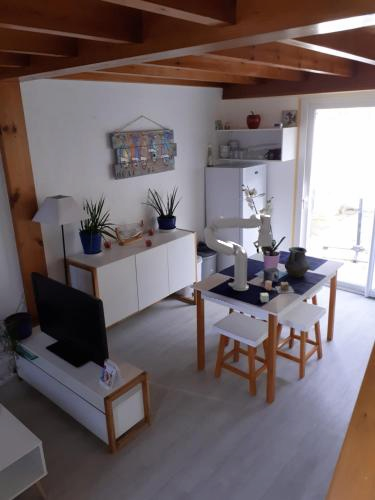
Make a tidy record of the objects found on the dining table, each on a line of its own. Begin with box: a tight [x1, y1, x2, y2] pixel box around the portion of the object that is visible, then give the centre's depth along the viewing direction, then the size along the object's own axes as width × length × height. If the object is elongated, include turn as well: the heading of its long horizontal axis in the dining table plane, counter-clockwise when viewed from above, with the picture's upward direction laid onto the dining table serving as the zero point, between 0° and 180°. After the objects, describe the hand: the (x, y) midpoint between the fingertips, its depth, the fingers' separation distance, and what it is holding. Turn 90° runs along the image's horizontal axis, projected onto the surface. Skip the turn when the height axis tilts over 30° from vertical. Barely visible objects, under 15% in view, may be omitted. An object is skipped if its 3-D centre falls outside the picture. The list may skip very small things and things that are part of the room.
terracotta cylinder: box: [264, 281, 273, 291], centre depth 317 cm, size 5×5×6 cm
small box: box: [263, 267, 280, 284], centre depth 329 cm, size 11×6×10 cm, turn 105°
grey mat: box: [274, 285, 295, 294], centre depth 315 cm, size 12×12×1 cm
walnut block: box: [280, 281, 290, 291], centre depth 314 cm, size 5×5×5 cm
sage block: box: [259, 292, 270, 303], centre depth 298 cm, size 5×5×5 cm
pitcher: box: [284, 246, 311, 279], centre depth 336 cm, size 21×22×25 cm
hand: (264, 252), depth 312 cm, fingers open, 9 cm apart
